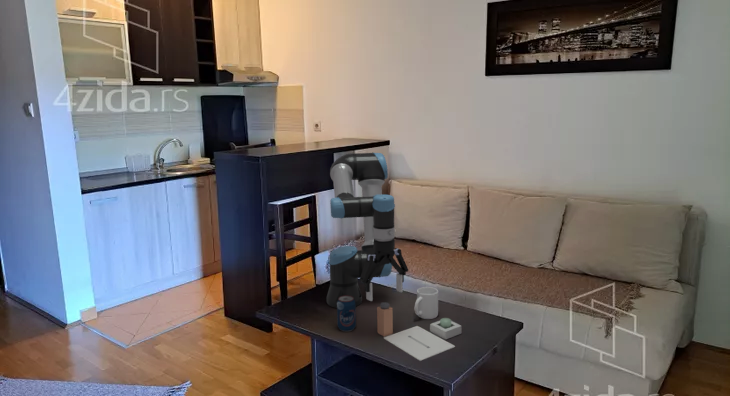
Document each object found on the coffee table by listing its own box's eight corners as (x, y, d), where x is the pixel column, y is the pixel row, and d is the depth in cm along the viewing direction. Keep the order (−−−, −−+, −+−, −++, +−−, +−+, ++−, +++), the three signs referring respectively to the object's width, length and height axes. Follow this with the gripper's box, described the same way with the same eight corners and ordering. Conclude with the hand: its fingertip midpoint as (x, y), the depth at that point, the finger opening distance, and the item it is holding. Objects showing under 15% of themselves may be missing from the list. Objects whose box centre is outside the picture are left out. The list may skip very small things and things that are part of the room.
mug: (423, 324, 192) (423, 299, 190) (406, 318, 198) (406, 293, 196) (442, 315, 200) (442, 290, 198) (425, 309, 206) (426, 285, 204)
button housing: (430, 331, 186) (430, 323, 186) (445, 325, 191) (446, 318, 190) (445, 339, 180) (445, 331, 179) (461, 333, 184) (461, 325, 184)
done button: (437, 327, 185) (438, 319, 185) (445, 324, 188) (445, 317, 187) (445, 331, 182) (445, 323, 181) (453, 328, 184) (453, 320, 184)
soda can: (341, 333, 186) (340, 303, 184) (335, 326, 192) (334, 296, 190) (358, 330, 188) (358, 299, 186) (352, 322, 195) (351, 293, 192)
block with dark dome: (377, 332, 186) (377, 303, 184) (386, 329, 188) (385, 301, 186) (384, 336, 183) (383, 307, 181) (392, 333, 185) (392, 304, 183)
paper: (383, 338, 181) (383, 337, 181) (417, 326, 190) (417, 325, 190) (420, 361, 165) (420, 360, 165) (455, 346, 174) (455, 346, 174)
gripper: (360, 247, 169) (362, 307, 172) (417, 235, 183) (417, 290, 186) (348, 242, 175) (350, 300, 179) (404, 231, 189) (404, 285, 193)
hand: (384, 295), depth 183 cm, fingers open, 13 cm apart
